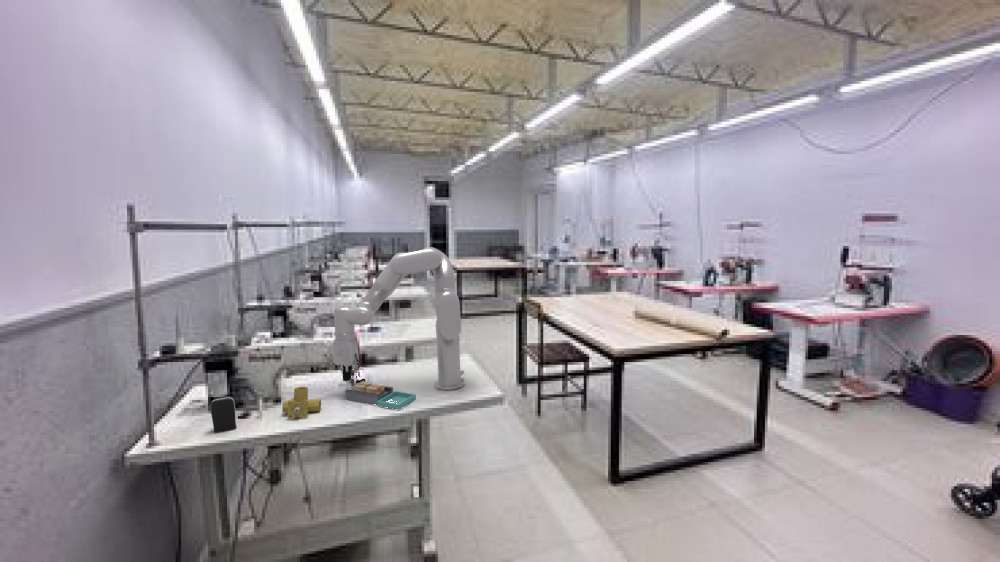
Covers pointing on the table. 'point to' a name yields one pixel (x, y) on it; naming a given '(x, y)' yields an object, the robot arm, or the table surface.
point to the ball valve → (300, 404)
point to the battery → (223, 414)
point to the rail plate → (367, 395)
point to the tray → (397, 396)
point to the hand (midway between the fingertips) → (347, 380)
